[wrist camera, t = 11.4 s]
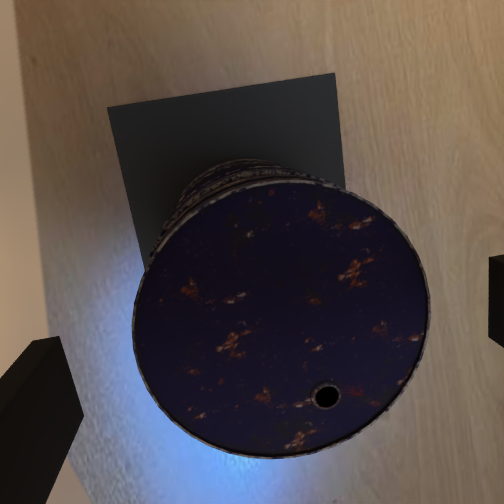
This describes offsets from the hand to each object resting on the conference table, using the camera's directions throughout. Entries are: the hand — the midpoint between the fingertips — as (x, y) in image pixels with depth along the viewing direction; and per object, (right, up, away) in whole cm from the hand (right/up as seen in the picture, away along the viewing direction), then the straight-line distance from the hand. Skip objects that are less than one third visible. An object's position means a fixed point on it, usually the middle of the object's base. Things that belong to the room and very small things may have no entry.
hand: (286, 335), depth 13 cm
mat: (-1, +4, +15) cm, 16 cm away
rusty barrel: (-1, +4, +15) cm, 16 cm away
